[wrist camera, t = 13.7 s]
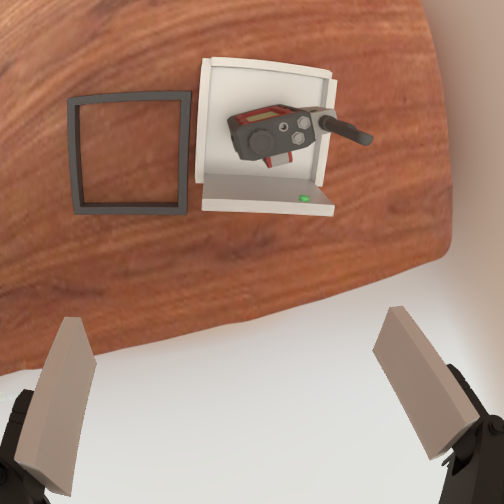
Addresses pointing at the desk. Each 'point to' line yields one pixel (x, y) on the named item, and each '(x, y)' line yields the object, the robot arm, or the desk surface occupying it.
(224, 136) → the dock
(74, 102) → the grey square frame
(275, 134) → the walkie-talkie
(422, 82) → the desk surface
